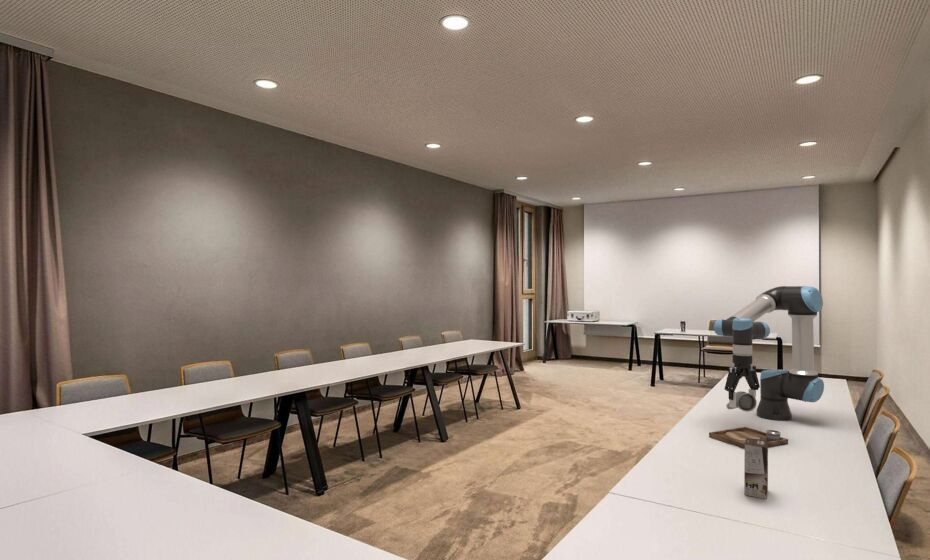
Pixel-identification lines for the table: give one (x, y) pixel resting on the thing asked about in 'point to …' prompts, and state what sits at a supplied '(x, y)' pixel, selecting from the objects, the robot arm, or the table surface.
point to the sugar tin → (772, 435)
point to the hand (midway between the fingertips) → (742, 406)
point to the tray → (743, 437)
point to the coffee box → (756, 468)
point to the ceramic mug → (744, 401)
